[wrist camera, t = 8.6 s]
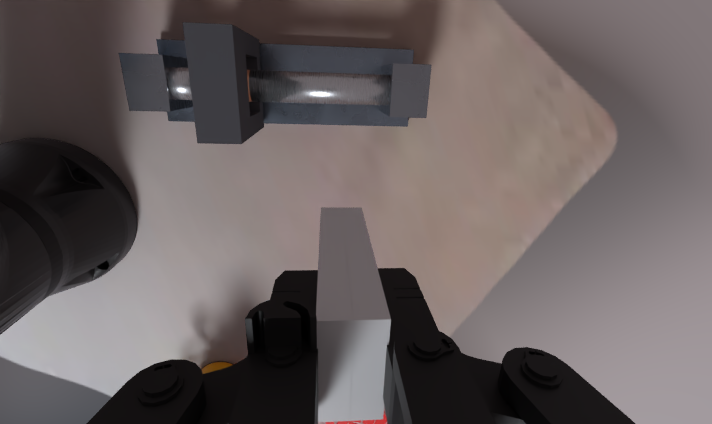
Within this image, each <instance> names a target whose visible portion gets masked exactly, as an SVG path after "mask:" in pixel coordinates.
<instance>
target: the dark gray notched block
mask: <svg viewBox="0 0 712 424" xmlns="http://www.w3.org/2000/svg"><path fill="white" fill-rule="evenodd" d="M183 30H184V38H185V46H186V54H187V62H188V70H189V78H190V86H191V94H192V102H193V110H194V118H195V127H196V135H197V143H213V144H242V143H244V142H245V141H246V140H247V139H249V138H250V137H251V136H253V135H254V134H255V133H257V132H258V131H259V130H260V129H262V128H263V127H264V118H263V102H249V94H248V80H247V70H261V66H260V49H259V39H257V38H255V37H253V36H251V35H250V34H248V33H246V32H244V31H243V30H241V29H239V28H237V27H235V26H234V25H231V24H209V23H187V22H183Z"/></svg>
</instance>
